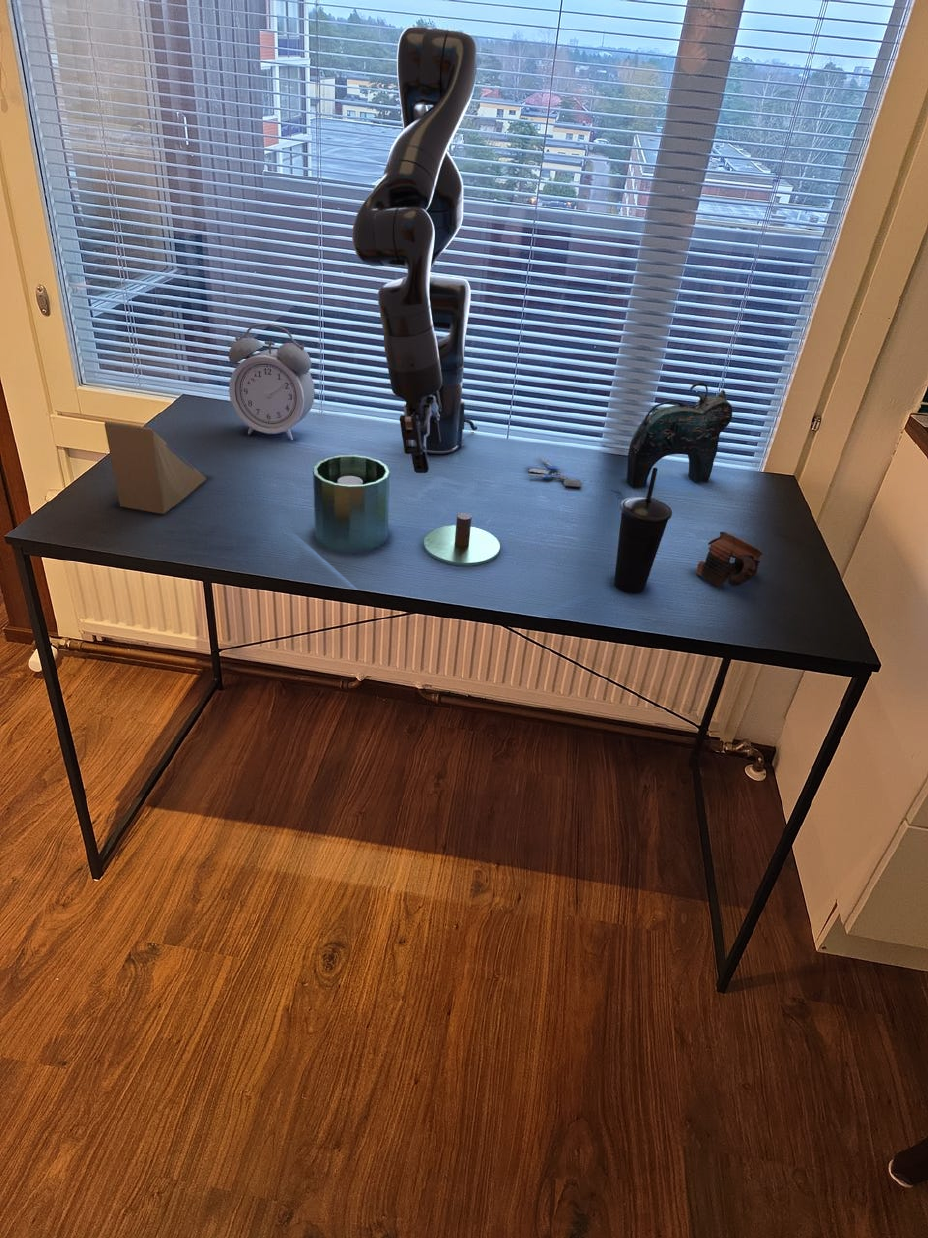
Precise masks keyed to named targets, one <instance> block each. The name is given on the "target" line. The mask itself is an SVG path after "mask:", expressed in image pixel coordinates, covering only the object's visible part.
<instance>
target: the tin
mask: <svg viewBox="0 0 928 1238" xmlns="http://www.w3.org/2000/svg"><path fill="white" fill-rule="evenodd" d="M390 475H391V474H390V469H389V467H388V465H386V464H385V463H383V462H382V461H381V460H378V459H375V458H372V457H369V456H364V455H357V454H344V455H342V454H340V455H335V456H330V457H326V458H324V459H322V460H320V461H318V462H316V463H315V465H314V466H313V468H312V481H313V482H312V483H313V485H312V486H313V509H314V510H313V512H314V514H313V516H314V535H315V539H316V541H317V542H319V544H321V545H322V546H323V547H326V548H328V549H331V550H333V551H339V552H347V553H357V552H360V553H361V552H366V551H370V550H373V549H377V548H379V547H380V546H381V545H383V544H385V543H386V541H387V539H388V537H389V515H390V514H389V510H390V502H389V501H390ZM344 476H355V477H359V478H360V479H362V481H363V485H345V484H337V482H338V479H339V478H341V477H344Z"/></svg>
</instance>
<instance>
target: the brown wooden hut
mask: <svg viewBox="0 0 928 1238" xmlns="http://www.w3.org/2000/svg"><path fill="white" fill-rule="evenodd" d="M707 545H709V547H708V550H709V551H708V553H707V554H706V558H705V561H703V560H700V561H698V563H697V567H696V570H695V574H696V575H697V576H698V577H700V578H703V580H705V581H706V582H708V583H710V584H712V585H713V586H715V587H718V588H719V589H722V588H723V587H724V585H725V583H726V582H727V580H728V583H729V585H731V587H739V586H741V585H742V584H744V583H746V582H748V581H749V580H750V579H752V577H753V576H756V574H757V573H758V569H759V563H761V560H760V558H761V556H762V555H763V554H764V553H763V552H762V551H761V550H760V549H759V548H757V547H755V546H754V545H752V544H750V543H749V542H747V541H745V540H743V539H741V538H739V537H736V536H735V535H732V534H730V533H728V532H726V531H720V532H719V537H716V538H714V539H711V541H708V542H707ZM731 558H732V559H734V562H731Z"/></svg>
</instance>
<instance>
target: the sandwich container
mask: <svg viewBox="0 0 928 1238" xmlns="http://www.w3.org/2000/svg"><path fill="white" fill-rule="evenodd" d="M103 425H104V430H105V434H106V435H105V436H106V440H107V445H108V450H109V451H108V452H109V456H110V461H111V466H112V472H113V477H114V483H115V488H116V492H117V493H116V494H117V498H118V502H119V507H122V508H128V509H133V510H139V511H145V512H148V513H155V514H161V515H164V514H166V513H168V512H169V511H170V510H171V509H172V508H174V507H175V506H176V505H178V504H179V503H180V502H182V501H184V499H185V498H187V497H188V496H189V495H190V494H191V493H193V491H195V490H196V489H197V488H198V487H200V485H201V484H203V483H204V482H205V481H206V480H208V478H207V477H206V476H204V475H203V474H202V473H201V472H200V471H198V469H196V468H195V467H194V466H193V465H191V463H189V462H188V461H187V460H186V459H185V458H184V457H182V455H181V454H179V453H178V452H177V451H176V450H174V449H173V448H172V447H171V446H170V445H169V444H168V443H167V442H166V441H165V440H164V439H163V438H162V437H161V436H160V435H159V434H158V433H156V432H155V430H153V429H152V428H150V427H149V428H148V427H143V426H138V425H133V424H128V423H121V422H113V421H105V422H104V424H103Z"/></svg>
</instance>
